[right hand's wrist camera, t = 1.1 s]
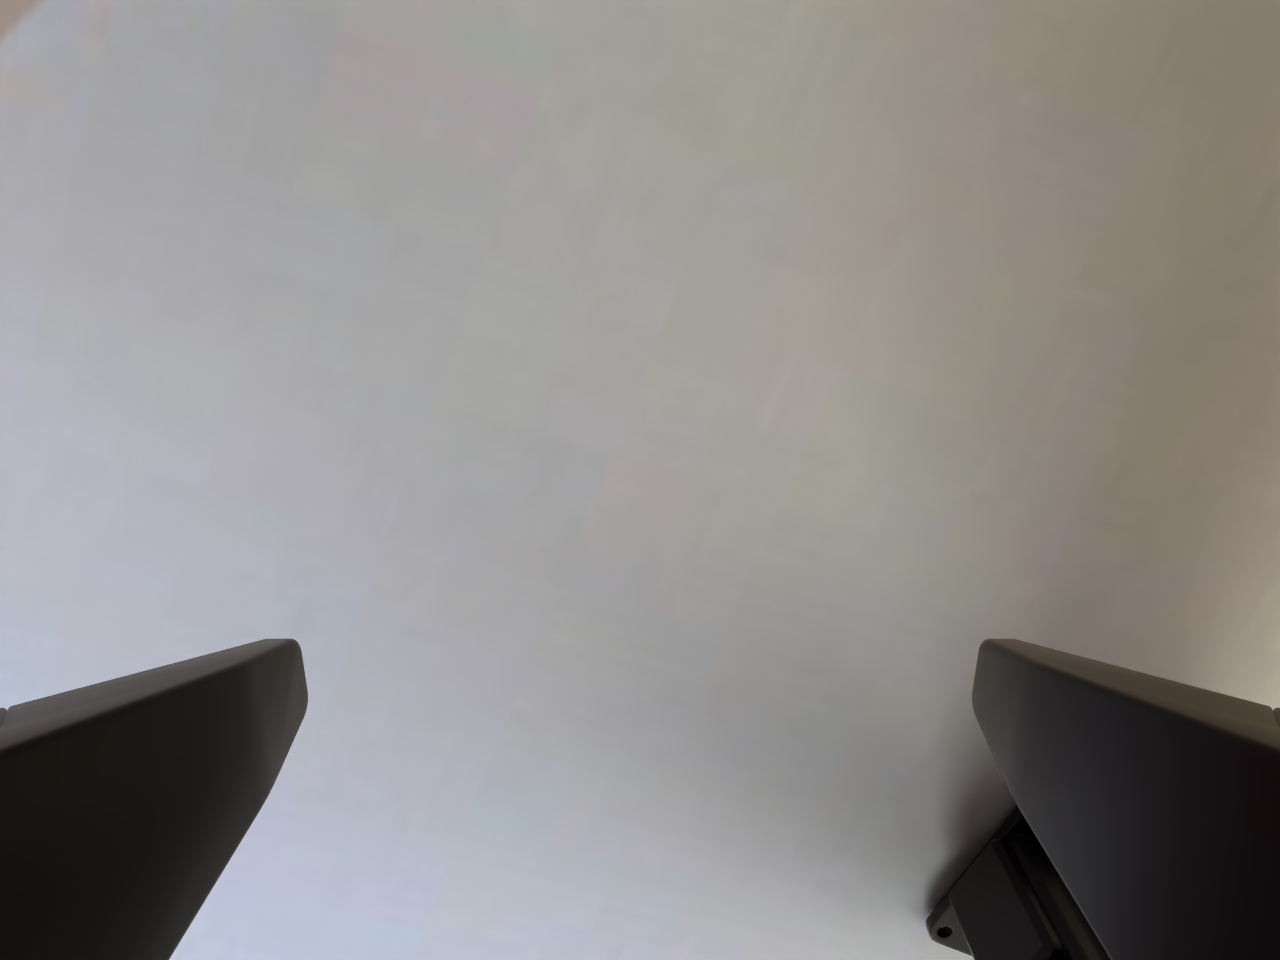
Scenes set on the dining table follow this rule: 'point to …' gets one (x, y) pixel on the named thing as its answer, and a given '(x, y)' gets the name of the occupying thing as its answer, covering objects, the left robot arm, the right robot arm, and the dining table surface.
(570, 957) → the dining table surface
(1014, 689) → the right robot arm
